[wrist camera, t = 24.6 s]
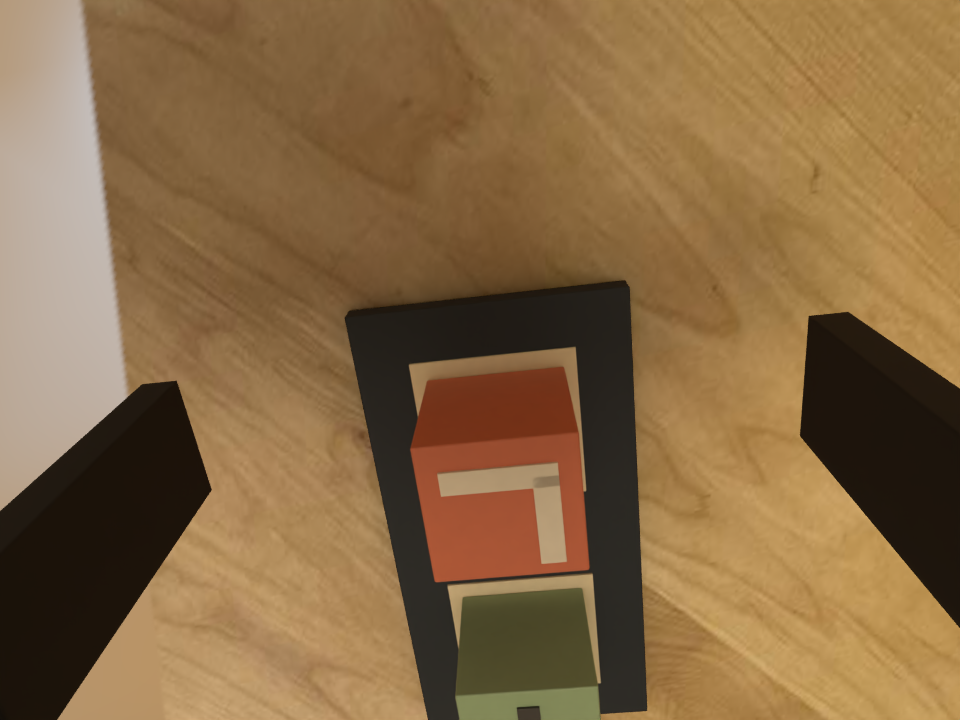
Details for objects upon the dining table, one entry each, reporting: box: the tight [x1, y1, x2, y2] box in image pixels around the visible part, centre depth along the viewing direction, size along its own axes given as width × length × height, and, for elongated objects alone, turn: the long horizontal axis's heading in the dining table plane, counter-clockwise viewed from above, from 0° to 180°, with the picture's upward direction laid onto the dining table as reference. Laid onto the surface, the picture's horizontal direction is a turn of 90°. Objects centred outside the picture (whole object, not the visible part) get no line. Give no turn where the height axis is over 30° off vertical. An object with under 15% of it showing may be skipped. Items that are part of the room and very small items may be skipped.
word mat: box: [345, 281, 647, 720], centre depth 28 cm, size 20×10×1 cm, turn 7°
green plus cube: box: [455, 588, 601, 720], centre depth 27 cm, size 5×5×5 cm
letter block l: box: [410, 367, 589, 582], centre depth 23 cm, size 5×5×5 cm
